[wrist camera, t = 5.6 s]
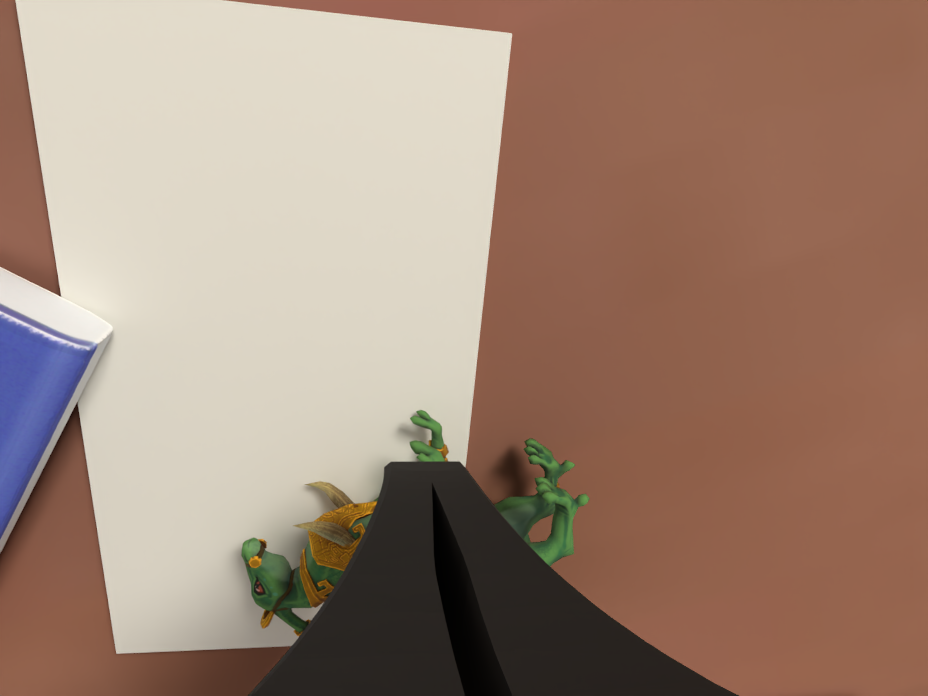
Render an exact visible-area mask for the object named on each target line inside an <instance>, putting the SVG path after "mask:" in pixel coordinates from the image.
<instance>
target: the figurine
mask: <svg viewBox="0 0 928 696" xmlns="http://www.w3.org/2000/svg"><path fill="white" fill-rule="evenodd" d="M416 412H417V414H418V415H419V417H418V416H413V417H411V418H410V419H411V421H412V423H413V424H415V425H417V426H420V427H423V428H426V429H429V430H431V440H429V445H427V444H425V443H424V442H421V441H417V440H414V441H411V442H410V447H411V449H412V450H413V451H414V453H415V454H419V455H418V456H417V457H416V458H417V459H419V460H420V461H448V459H447V458H446V455H447V454H448V453H449V451H448V448H447V445H446V444H444V441H443V437H442V426H441V425H440V423H438V422H437V421H436V420H434V419H432V418H431V417H430V416H429V414H428V413H427V412H426V411H423V410H419V411H416ZM525 443H526V445H527V447H526V448H524V450H525V452H526V453H527V454H528V455H529V456H530V457H528V459H529V462H530V464H539V465H540V466H541V467H542V468H543V469H544V471H545V477H539V478H535V481H536V484H537V486H538V487H537V488H536V490H537V491H538V493H537V494H536V495H534V496H523V497H508V498H506V499H504V500H502V501H500V502H499V503H497V504H495V505H494V506H495V507H496V508H497V510H498V511H499V512H500V513H501V514H502V516H503V517H504V518H505V519H506V520H507V521H508V522H509V524H510V525H511V526H512V527H513V528H514V529H515V530H516V532H517V533H518V534H519V535H520V536H521V537H522V538H523V539H524V541H525V542H526V543H527V544H528V545H529V546H530V547H531V548H532V549H533V550H534V551H535V552H536V553H537V554H538V555H539V556H540V557H541V558H542V559H543V560H544V561H545V562H546V563H547V564H548V565H549V566H551V565H552V564H553V563H554V562H556V561H558V560H559V559H561V558H562V557H565V556H568V555H572V554H574V549H573V529H572V524H573V517H574V515H575V513H576V511H577V509H578V507H580V506H584V505H585V504H586V503H587V502H588V501H589V499H590V498H589V497H588V496H587V495H586V494H582V495H579V496H578V497H577V498H576V499H575V500H574V499H573V498H572V497H571V496H570V495H569V494H568V493H567V492H566V490H563V489H560V488H559V483H558V478H559V477H560V476H561V475H563V474H564V473H565V472H567V471H569V470H570V469H571V468H573V467H574V466H575V464H574V463H572V462H569V461H567V460H566V461H565V462H564V463H563V464H561V465H560V464H559V463H558V462H557V461H556V460H555V459H554V458H553V455H552V453H551V451H549V450H548V449H547V448H546V447H544V446H543V445H541V444H539V443H538V442H537V441H536V440H534V439H531V438H529V439H528V440H526V441H525ZM304 485H308V486H312V487H316V488H318V489H321V490H323V491H324V492H325V493H326V494H327V496H328V497H329V498H330V500H331V501H332V502H333V503H334V504H335V505H336V507H337V509H335V510H332V511H329V512H327V513H324V514H323V515H321V516H320V517H319V518H317V519H316V520H315V521H313V522H307V523H302V524H298V525H293V526H295V527H298V528H302V529H305V530H308V535H309V541H308V543H307V546H306V548H305V549H303V551H302V554H301V557H300V565H299V567H297V568H295V569H293V570H292V569H291V566H290V564H289V562H288V561H287V559H286V558H285V557H284V556H283V555H278V554H273V553H270V552H268V551H266V550H265V548H267V542H266V541H265V540H264V539H257V538H254V537H253V538H251V539H249V540H246V541H245V542H244V543H243V546H242V554H241V556H242V558H243V560H244V562H245V565H246V569H247V573H248V576H249V579H250V582H251V595H252V597H253V599H254V601H255V603H256V604H257V605H258V606H260V607H261V608H263V609H265V610H264V613H263V615H262V618H261V622H260V625H261V627H262V629H264V628H266V627H268V626H269V624H270V622H271V620H272V618H273V616H274V614H275V615H276V616H278V617H279V618H280V619H282V620H283V621H284V622H285V623H287V624H288V625H289V626H291V627H292V628H293V629H295V630H294V631H293V632H294V633H295V634H296V635H297V636H300V635H301V633H302V632H303V631H304V629H305V628H306V627H307V626H308V624H309V623H310V622H311V620H309V619H308V620H306V621H304V620H302V619H301V618H300V617H298V616H297V615H296V614H294V613H293V612H292V608H312V607H314V608H316V607H318V606H319V605H321V604H322V603H324V602H325V600H326V599H327V597H328V596H329V594H330V593H331V591H332V590H333V588H334V587H335V585H336V584H337V582H338V580H339V579H340V577H341V575H342V574H343V572H344V570H345V568H346V567H347V565H348V563H349V561H350V559H351V557H352V555H353V554H354V552H355V550H356V548H357V546H358V544H359V542H360V540H361V538H362V536H363V534H364V532H365V530H366V527H367V525H368V523H369V520H370V518H371V516H372V513H373V511H374V509H375V506H376V503H377V500H378V498H376V499H375V500H374V501H373V502H367V503H356V504H355V503H354V502H353V501H352V500H351V499H350V498H349V497H348V496H347V495H346V494H345V493H344V492H343V491H341V490H340V489H338V488H337V487H335V486H334V485H332V484H331V483H327V482H322V481H319V482H314V483H309V484H304ZM552 514H554V515H553V520H552V529H551V534H550V536H549V537H548V539H547V540H546V541H541V542H530V539H529V535H528V532H529V531H530V529H531V527H532V526H533V525H534V524H535V523H536V522H538V521H539V520H540V519H543V518H545V517H547V516H550V515H552Z"/></svg>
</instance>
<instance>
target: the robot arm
mask: <svg viewBox="0 0 928 696" xmlns="http://www.w3.org/2000/svg"><path fill="white" fill-rule="evenodd" d="M248 696H738V695H736V694H734V693H732V692H731V691H729V690H727V689H725V688H723V687H721V686H719V685H717V684H715V683H713V682H711V681H710V680H708V679H706V678H704V677H703V676H701V675H699V674H698V673H696V672H694V671H693V670H691V669H689V668H687V667H686V666H684V665H682V664H681V663H679V662H677V661H675V660H674V659H672V658H670V657H669V656H667V655H666V654H664V653H663V652H661V651H659V650H658V649H656V648H655V647H653V646H652V645H650V644H648V643H647V642H645V641H644V640H642V639H641V638H640V637H638V636H637V635H635V634H634V633H632V632H631V631H630V630H628V629H627V628H625V627H624V626H623V625H621V624H620V623H618V622H617V621H615V620H614V619H613V618H611V617H610V616H608V615H607V614H606V613H605V612H603V611H602V610H601V609H599V608H598V607H597V606H595V605H594V604H593V603H592V602H590V601H589V600H588V599H587V598H586V597H584V596H583V595H582V594H581V593H580V592H578V591H577V590H576V589H575V588H574V587H572V586H571V585H570V584H569V583H568V582H566V581H565V580H564V579H563V578H562V577H561V576H560V575H558V574H557V573H556V572H555V571H554V570H553V569H552V568H551V567H550V566H549V565H548V564H547V563H546V562H545V561H544V560H543V559H542V558H541V557H540V556H539V555H538V554H537V553H536V552H535V551H534V550H533V549H532V548H531V547H530V546H529V545H528V544H527V543H526V542H525V541H524V539H523V538H522V537H521V536H520V535H519V534H518V533H517V532H516V530H515V529H514V528H513V527H512V526H511V525H510V524H509V522H508V521H507V520H506V519H505V518H504V517H503V516H502V514H501V513H500V512H499V511H498V510H497V508H496V507H495V506H494V505H493V503H492V502H491V501H490V500H489V498H488V497H487V496H486V495H485V493H484V492H483V491H482V489H481V488H480V487H479V485H478V484H477V483H476V481H475V480H474V479H473V477H472V476H471V475H470V473H469V472H468V471H467V469H466V468H465V467H464V466H463V465H462V463H461V462H460V461H419V462H390V463H389V464H387V465H386V466H385V467H384V478H383V484H382V488H381V491H380V494H379V497H378V500H377V503H376V506H375V509H374V511H373V513H372V516H371V518H370V520H369V523H368V525H367V527H366V530H365V532H364V534H363V536H362V538H361V540H360V542H359V544H358V546H357V548H356V550H355V552H354V554H353V555H352V557H351V559H350V561H349V563H348V565H347V567H346V568H345V570H344V572H343V574H342V575H341V577H340V579H339V580H338V582H337V584H336V585H335V587H334V588H333V590H332V591H331V593H330V594H329V596H328V597H327V599H326V600H325V602H324V603H323V605H322V606H321V608H320V609H319V611H318V612H317V614H316V615H315V616H314V618H313V619H312V620H311V622H310V623H309V624H308V626H307V627H306V628H305V629H304V631H303V632H302V633H301V635H300V636H299V637H298V639H297V640H296V641H295V643H294V644H293V645H292V646H291V648H290V649H289V650H288V651H287V653H286V654H285V655H284V656H283V657H282V659H281V660H280V661H279V662H278V663H277V664H276V665H275V666H274V668H273V669H272V670H271V671H270V672H269V673H268V674H267V675H266V676H265V677H264V678H263V680H262V681H261V682H260V683H259V684H258V685H257V686H256V687H255V688H254V689H253V691H252V692H251V693H250V694H249V695H248Z"/></svg>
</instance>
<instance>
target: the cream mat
mask: <svg viewBox="0 0 928 696" xmlns="http://www.w3.org/2000/svg"><path fill="white" fill-rule="evenodd" d="M16 7H17V13H18V20H19V26H20V33H21V39H22V46H23V52H24V59H25V65H26V72H27V78H28V84H29V91H30V97H31V104H32V110H33V117H34V123H35V130H36V136H37V143H38V149H39V156H40V162H41V169H42V175H43V182H44V188H45V195H46V201H47V208H48V214H49V221H50V227H51V234H52V240H53V247H54V253H55V259H56V266H57V272H58V279H59V285H60V292H61V297H62V298H64V299H66V300H68V301H70V302H72V303H74V304H76V305H78V306H80V307H82V308H84V309H86V310H88V311H90V312H92V313H93V314H95V315H96V316H98V317H100V318H101V319H103V320H104V321H106V322H107V323H109V324H110V325H111V326H112V327H113V332H112V334H111V337H110V339H109V341H108V343H107V345H106V346H105V348H104V350H103V352H102V354H101V356H100V358H99V360H98V362H97V364H96V366H95V368H94V370H93V372H92V374H91V376H90V378H89V380H88V382H87V383H86V385H85V387H84V389H83V391H82V393H81V395H80V397H79V399H78V401H77V402H78V409H79V415H80V422H81V428H82V434H83V441H84V447H85V454H86V460H87V467H88V473H89V480H90V486H91V493H92V499H93V506H94V512H95V519H96V525H97V532H98V538H99V545H100V551H101V558H102V564H103V571H104V577H105V584H106V590H107V596H108V603H109V609H110V616H111V622H112V629H113V635H114V642H115V648H116V654H121V653H144V652H167V651H190V650H213V649H236V648H259V647H282V646H292V645H293V644H294V643H295V641H296V640H297V639H298V637H299V636H297V635H296V634H295V633H294V632H293V631H294V630H295V629H293V628H292V627H291V626H289V625H288V624H287V623H285V622H284V621H283V620H282V619H280V618H279V617H278V616H276V615H275V614H274V616H273V618H272V620H271V622H270V624H269V626H268V627H266V628H264V629H262V627H261V625H260V622H261V618H262V615H263V613H264V610H265V609H263V608H261V607H260V606H258V605H257V604H256V603H255V601H254V599H253V597H252V595H251V582H250V579H249V576H248V573H247V569H246V565H245V562H244V560H243V558H242V556H241V554H242V546H243V543H244V542H245V541H246V540H249V539H251V538H253V537H254V538H257V539H264V540H265V541H266V542H267V548H265V550H266V551H268V552H270V553H273V554H278V555H283V556H284V557H285V558H286V559H287V561H288V562H289V564H290V566H291V569H292V570H293V569H295V568H297V567H299V565H300V557H301V554H302V551H303V549H305V548H306V546H307V543H308V541H309V535H308V530H305V529H302V528H298V527H295V526H293V525H298V524H302V523H307V522H313V521H315V520H316V519H317V518H319V517H320V516H321V515H323V514H324V513H327V512H329V511H332V510H335V509H337V507H336V505H335V504H334V503H333V502H332V501H331V500H330V498H329V497H328V496H327V494H326V493H325V492H324V491H323V490H321V489H318V488H316V487H312V486H308V485H304V484H309V483H314V482H319V481H322V482H327V483H331V484H332V485H334V486H335V487H337V488H338V489H340V490H341V491H343V492H344V493H345V494H346V495H347V496H348V497H349V498H350V499H351V500H352V501H353V502H354V503H355V504H356V503H367V502H373V501H374V500H375V499H376V498H378V497H379V494H380V491H381V488H382V484H383V478H384V467H385V466H386V465H387V464H389V463H390V462H419V461H420V460H419V459H417V458H416V457H417V456H418V455H419V454H415V453H414V451H413V450H412V449H411V447H410V442H411V441H414V440H417V441H421V442H424V443H425V444H427V445H429V440H431V430H429V429H426V428H423V427H420V426H417V425H415V424H413V423H412V421H411V419H410V418H411V417H413V416H418V417H419V415H418V414H417V412H416V411H419V410H423V411H426V412H427V413H428V414H429V416H430V417H431V418H432V419H434V420H436V421H437V422H438V423H440V425H441V426H442V437H443V441H444V444H446V445H447V448H448V451H449V453H448V454H447V455H446V458H447V459H448V461H460V462H461V463H462V465H463V466H464V467H466V458H467V448H468V439H469V430H470V420H471V411H472V402H473V392H474V383H475V374H476V365H477V355H478V346H479V337H480V327H481V318H482V309H483V299H484V290H485V281H486V271H487V262H488V253H489V244H490V234H491V225H492V216H493V206H494V197H495V188H496V178H497V169H498V160H499V151H500V141H501V132H502V123H503V113H504V104H505V95H506V85H507V76H508V67H509V58H510V48H511V39H512V33H504V32H495V31H486V30H478V29H469V28H460V27H451V26H442V25H434V24H425V23H416V22H407V21H399V20H390V19H381V18H372V17H363V16H355V15H346V14H337V13H328V12H319V11H311V10H302V9H293V8H284V7H276V6H267V5H258V4H249V3H240V2H232V1H223V0H16ZM322 605H323V603H322V604H321V605H319V606H318V607H316V608H314V607H312V608H292V612H293V613H294V614H296V615H297V616H298V617H300V618H301V619H302V620H304V621H306V620H308V619H309V620H312V619H313V618H314V616H315V615H316V614H317V612H318V611H319V609H320V608H321V606H322Z"/></svg>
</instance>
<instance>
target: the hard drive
mask: <svg viewBox="0 0 928 696" xmlns="http://www.w3.org/2000/svg"><path fill="white" fill-rule="evenodd" d="M112 332H113V327H112V326H111V325H110V324H109V323H107V322H106V321H104V320H103V319H101V318H100V317H98V316H96V315H95V314H93V313H92V312H90V311H88V310H86V309H84V308H82V307H80V306H78V305H76V304H74V303H72V302H70V301H68V300H66V299H64V298H62V297H60V296H58V295H56V294H54V293H52V292H50V291H48V290H46V289H44V288H42V287H40V286H38V285H36V284H34V283H32V282H30V281H28V280H26V279H24V278H22V277H20V276H18V275H15V274H13V273H11V272H9V271H7V270H5V269H3V268H1V267H0V553H1V551H2V549H3V547H4V545H5V543H6V541H7V539H8V537H9V535H10V533H11V531H12V529H13V527H14V526H15V524H16V522H17V520H18V518H19V516H20V514H21V512H22V510H23V508H24V506H25V504H26V502H27V500H28V498H29V496H30V494H31V492H32V490H33V488H34V486H35V484H36V482H37V480H38V478H39V476H40V474H41V472H42V470H43V468H44V466H45V464H46V463H47V461H48V459H49V457H50V455H51V453H52V451H53V449H54V447H55V445H56V443H57V441H58V439H59V437H60V435H61V433H62V431H63V429H64V427H65V425H66V423H67V421H68V419H69V417H70V415H71V413H72V411H73V409H74V407H75V405H76V403H77V401H78V399H79V397H80V395H81V393H82V391H83V389H84V387H85V385H86V383H87V382H88V380H89V378H90V376H91V374H92V372H93V370H94V368H95V366H96V364H97V362H98V360H99V358H100V356H101V354H102V352H103V350H104V348H105V346H106V345H107V343H108V341H109V339H110V337H111V334H112Z"/></svg>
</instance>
